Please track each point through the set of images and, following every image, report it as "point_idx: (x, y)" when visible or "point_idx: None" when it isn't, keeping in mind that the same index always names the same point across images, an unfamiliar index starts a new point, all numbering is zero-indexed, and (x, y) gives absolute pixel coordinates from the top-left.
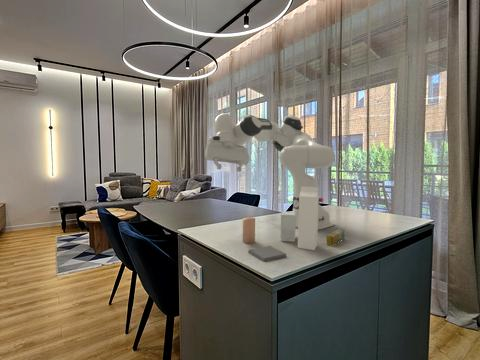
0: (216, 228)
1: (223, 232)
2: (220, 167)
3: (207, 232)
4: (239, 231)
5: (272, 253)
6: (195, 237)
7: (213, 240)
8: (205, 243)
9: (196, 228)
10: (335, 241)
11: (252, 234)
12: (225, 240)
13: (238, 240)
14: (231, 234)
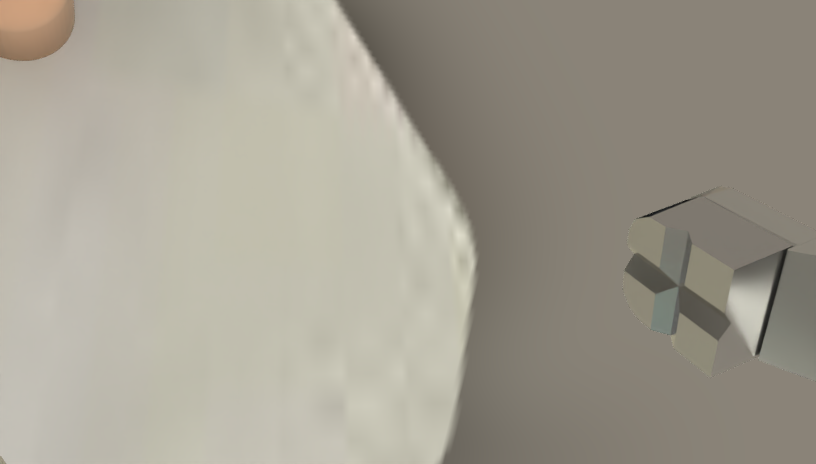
0: (274, 440)
1: (217, 303)
2: (663, 210)
3: (347, 306)
4: (56, 334)
5: None
6: (423, 178)
7: (302, 90)
8: (353, 33)
9: (435, 431)
10: None
11: None
12: (213, 75)
13: (106, 57)
14: (149, 235)
